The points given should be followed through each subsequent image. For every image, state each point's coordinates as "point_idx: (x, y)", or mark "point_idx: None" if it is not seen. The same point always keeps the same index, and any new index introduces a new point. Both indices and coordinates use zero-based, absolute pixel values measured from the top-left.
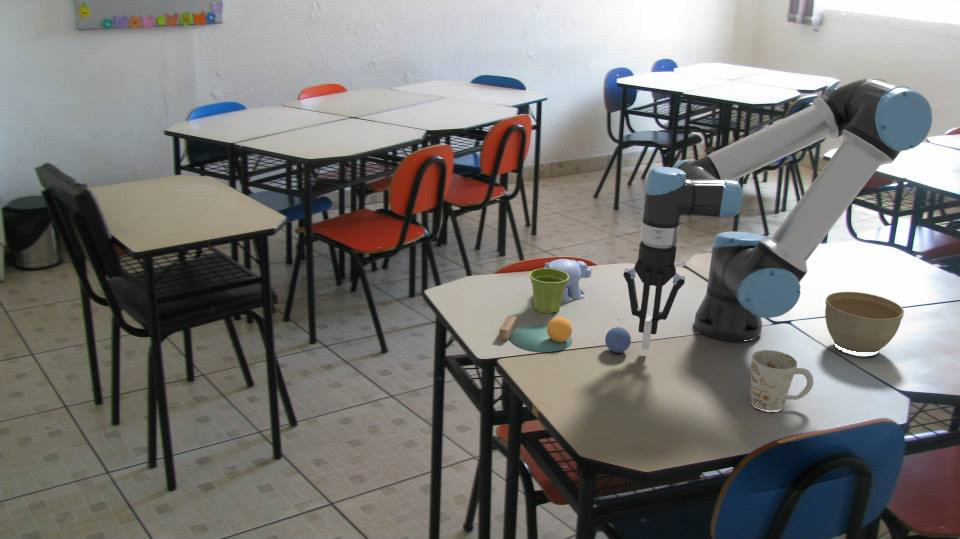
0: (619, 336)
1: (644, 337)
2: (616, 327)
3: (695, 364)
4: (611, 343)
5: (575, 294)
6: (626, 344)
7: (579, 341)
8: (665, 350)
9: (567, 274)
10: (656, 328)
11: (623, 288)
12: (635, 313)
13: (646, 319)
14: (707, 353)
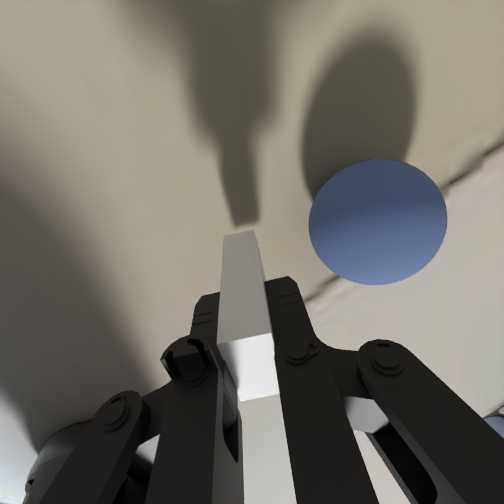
0: (383, 193)
1: (250, 259)
2: (420, 260)
3: (56, 265)
4: (400, 161)
5: (501, 429)
6: (323, 195)
7: (498, 205)
8: (195, 303)
9: None
10: (194, 324)
11: (383, 481)
12: (376, 359)
13: (267, 353)
14: (80, 349)
